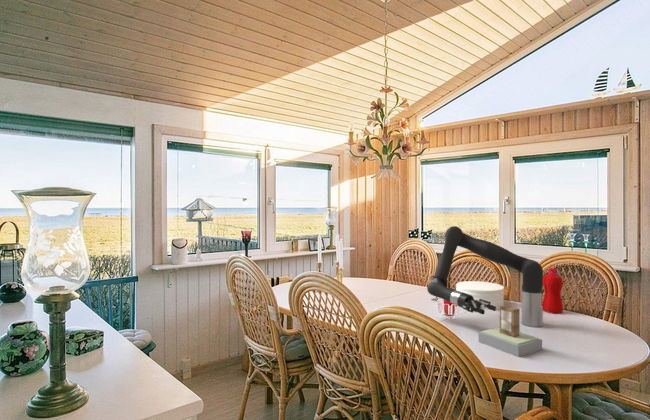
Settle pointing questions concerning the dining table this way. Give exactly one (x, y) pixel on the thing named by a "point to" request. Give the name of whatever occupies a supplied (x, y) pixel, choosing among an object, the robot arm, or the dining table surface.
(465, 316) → the dining table surface
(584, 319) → the dining table surface
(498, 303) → the plate stack
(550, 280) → the water bottle
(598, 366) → the dining table surface
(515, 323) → the frame
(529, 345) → the display stand
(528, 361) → the dining table surface
